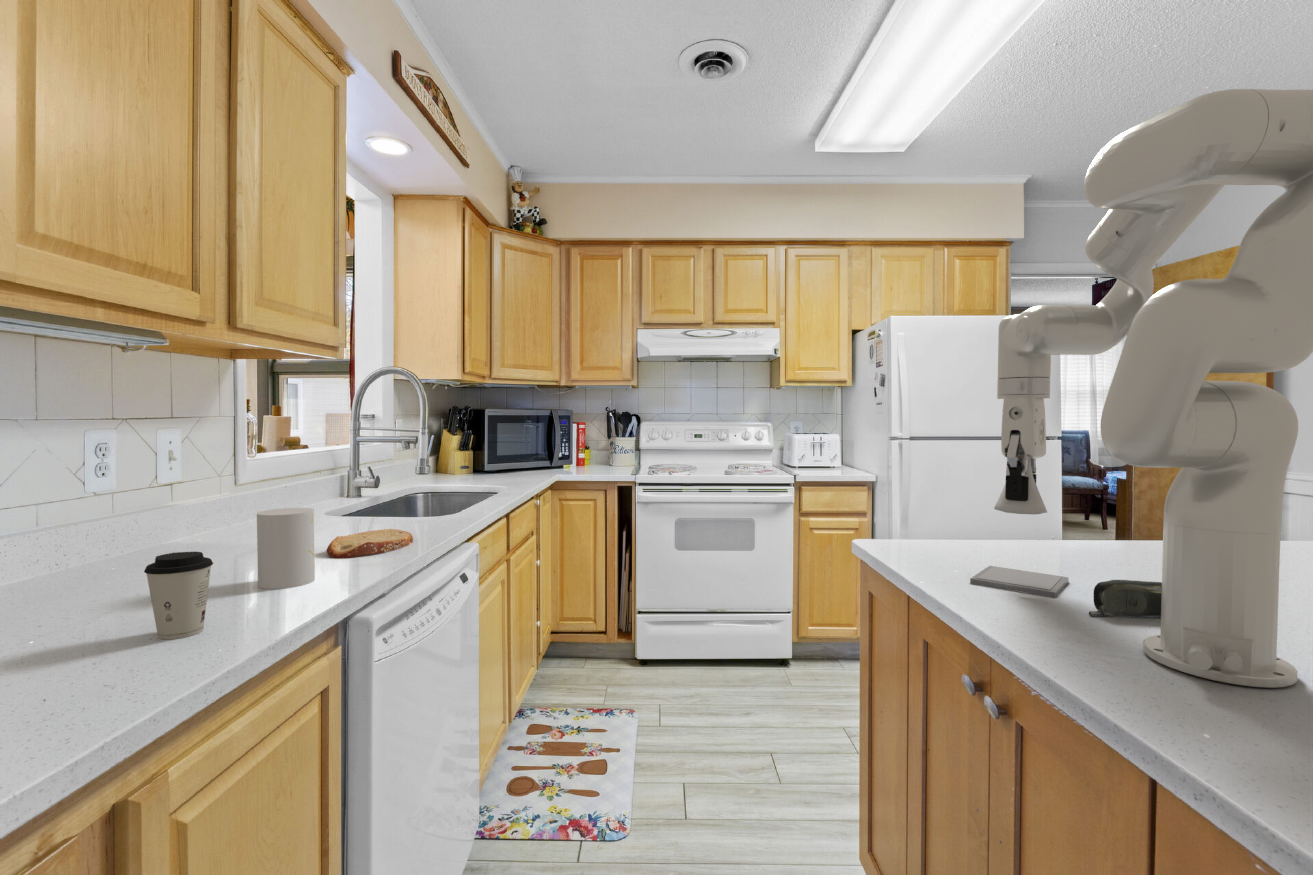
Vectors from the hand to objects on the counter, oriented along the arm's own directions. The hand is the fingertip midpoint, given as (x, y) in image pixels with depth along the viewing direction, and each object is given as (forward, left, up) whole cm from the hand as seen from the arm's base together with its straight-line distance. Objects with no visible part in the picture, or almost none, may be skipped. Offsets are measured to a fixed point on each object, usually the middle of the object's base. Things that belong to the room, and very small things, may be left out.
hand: (1020, 497), depth 101 cm
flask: (0, 0, -3) cm, 3 cm away
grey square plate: (0, 0, -14) cm, 14 cm away
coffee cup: (-100, +74, -15) cm, 125 cm away
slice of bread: (-62, +109, -15) cm, 126 cm away
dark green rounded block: (-8, -17, -15) cm, 24 cm away
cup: (-83, +91, -15) cm, 124 cm away
